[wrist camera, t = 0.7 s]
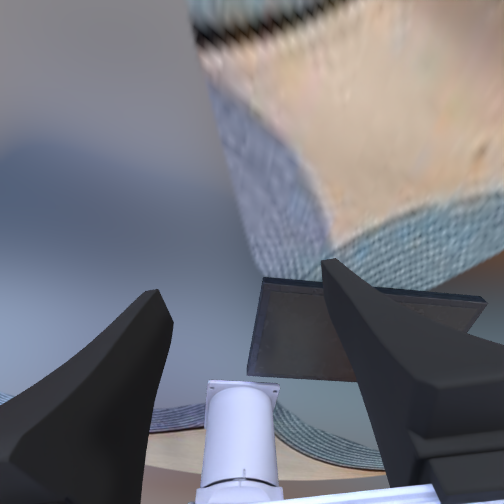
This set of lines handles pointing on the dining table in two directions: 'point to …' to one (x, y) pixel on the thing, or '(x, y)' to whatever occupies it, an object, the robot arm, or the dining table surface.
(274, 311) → the tablet
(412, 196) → the dining table surface
